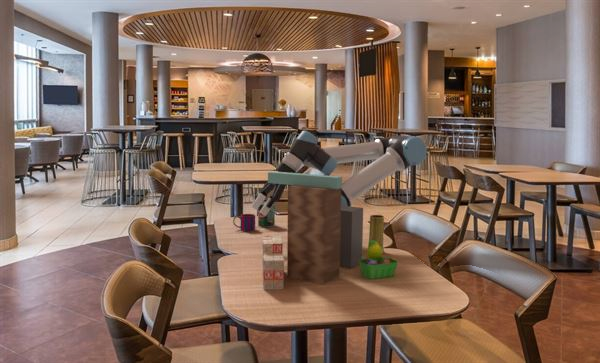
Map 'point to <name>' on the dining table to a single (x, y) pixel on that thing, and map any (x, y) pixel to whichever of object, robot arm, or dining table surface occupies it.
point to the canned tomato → (266, 217)
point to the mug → (246, 222)
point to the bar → (305, 180)
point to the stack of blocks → (273, 263)
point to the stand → (313, 233)
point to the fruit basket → (377, 262)
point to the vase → (376, 229)
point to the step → (351, 236)
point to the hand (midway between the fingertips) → (257, 211)
